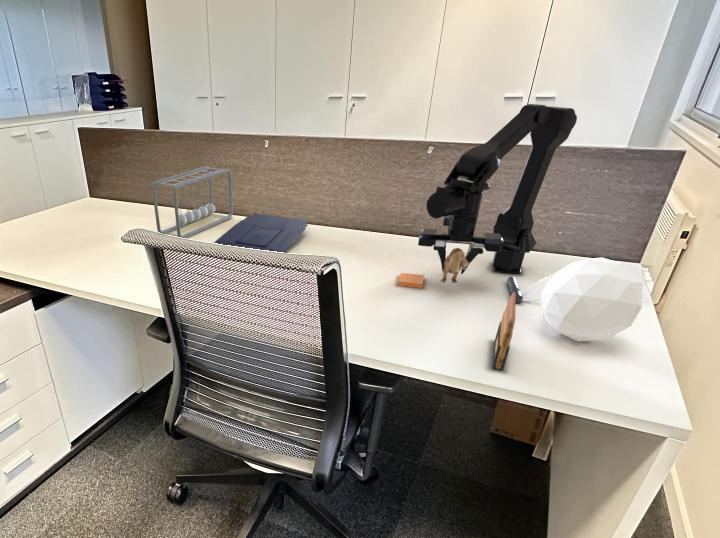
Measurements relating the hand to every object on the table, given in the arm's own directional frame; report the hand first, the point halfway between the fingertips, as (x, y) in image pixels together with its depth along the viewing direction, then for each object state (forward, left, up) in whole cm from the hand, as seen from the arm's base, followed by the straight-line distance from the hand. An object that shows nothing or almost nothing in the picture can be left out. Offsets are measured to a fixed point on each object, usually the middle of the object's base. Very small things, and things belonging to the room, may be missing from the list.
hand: (452, 272), depth 123 cm
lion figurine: (0, 0, -2) cm, 2 cm away
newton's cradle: (+85, -30, -4) cm, 91 cm away
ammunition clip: (-9, +32, -4) cm, 34 cm away
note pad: (+10, 0, -4) cm, 10 cm away
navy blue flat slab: (+58, -20, -4) cm, 61 cm away
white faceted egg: (-25, +13, -4) cm, 28 cm away
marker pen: (-14, 0, -3) cm, 14 cm away
